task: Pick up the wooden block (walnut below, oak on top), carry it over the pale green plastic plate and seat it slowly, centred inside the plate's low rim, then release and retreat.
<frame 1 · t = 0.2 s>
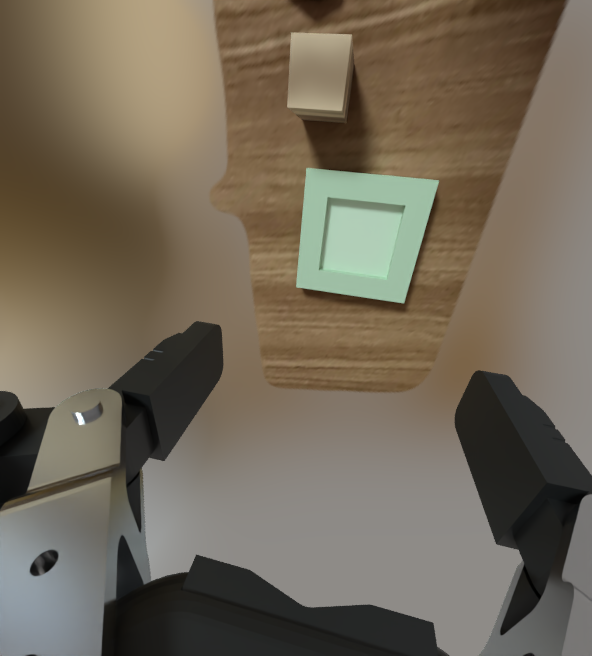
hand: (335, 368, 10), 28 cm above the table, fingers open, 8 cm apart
plate: (358, 236, 34), on the table
wooden block: (327, 93, 29), on the table
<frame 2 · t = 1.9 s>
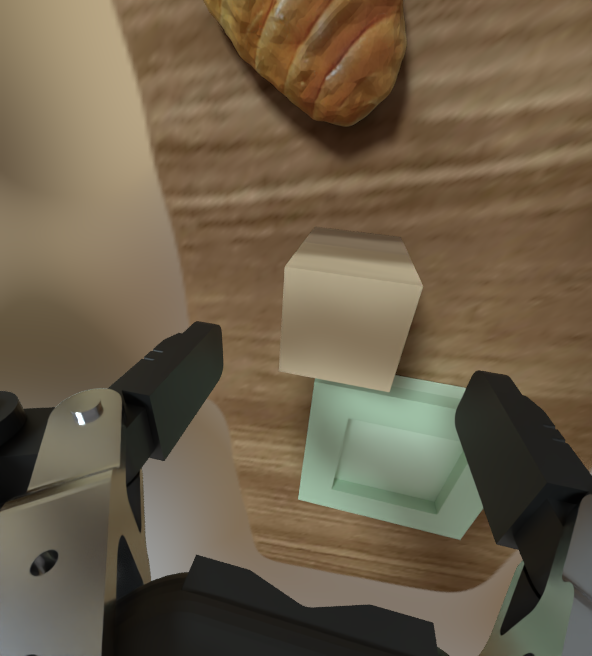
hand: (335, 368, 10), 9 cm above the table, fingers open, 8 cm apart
plate: (393, 444, 23), on the table
wooden block: (349, 272, 17), on the table
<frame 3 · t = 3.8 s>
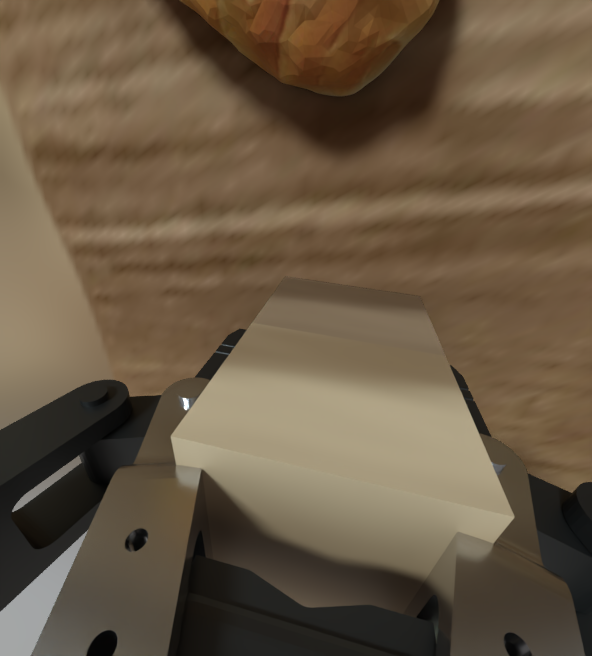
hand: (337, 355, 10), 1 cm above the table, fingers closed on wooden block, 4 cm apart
wooden block: (340, 342, 11), on the table, touching gripper
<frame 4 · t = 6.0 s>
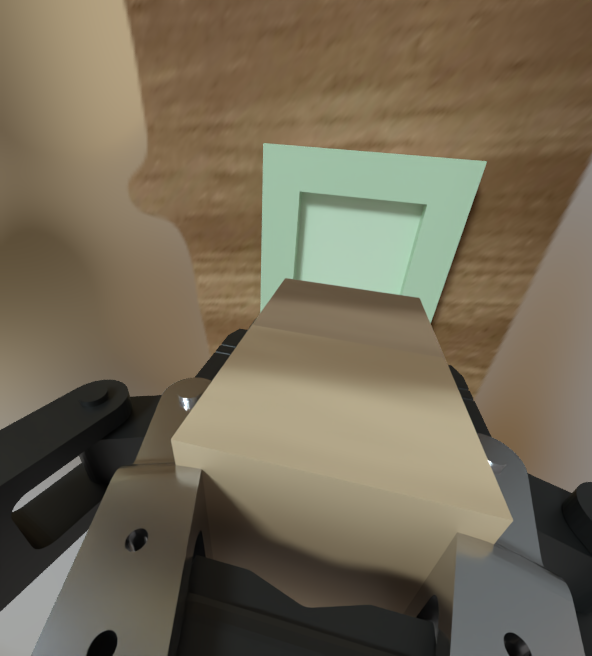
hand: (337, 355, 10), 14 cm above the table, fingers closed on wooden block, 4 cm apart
plate: (352, 251, 22), on the table
wooden block: (340, 343, 11), point 13 cm above the table, touching gripper
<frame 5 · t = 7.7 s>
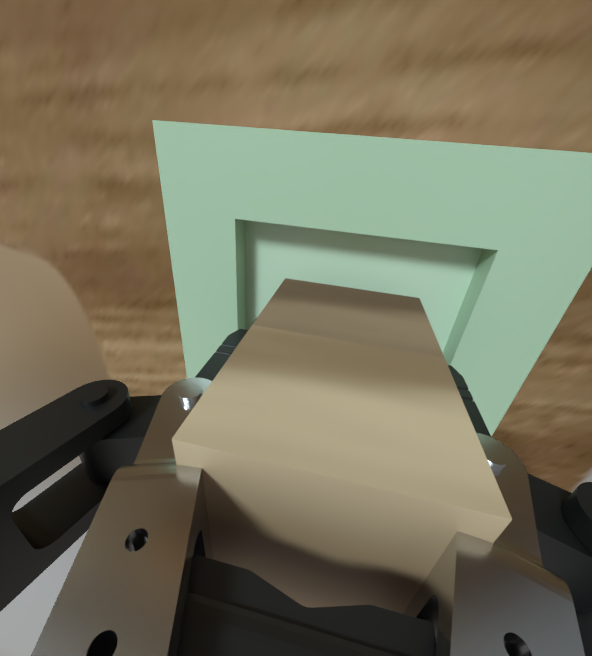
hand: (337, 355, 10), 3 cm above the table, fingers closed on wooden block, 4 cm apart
plate: (342, 317, 13), on the table
wooden block: (340, 343, 11), point 2 cm above the table, touching gripper
when the fingers open (3 cm above the table, at t = 8.7 s): wooden block stays where it is, resting on plate.
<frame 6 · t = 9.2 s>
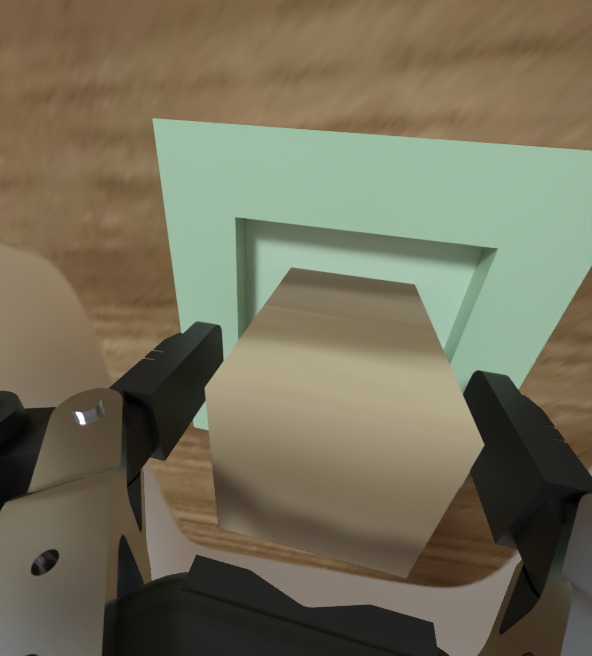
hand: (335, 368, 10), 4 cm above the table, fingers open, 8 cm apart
plate: (342, 316, 13), on the table
wooden block: (341, 328, 12), point 1 cm above the table, touching plate
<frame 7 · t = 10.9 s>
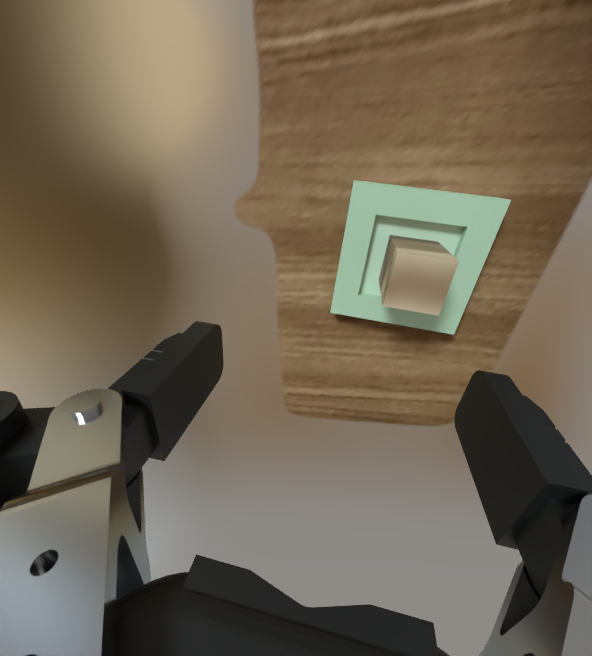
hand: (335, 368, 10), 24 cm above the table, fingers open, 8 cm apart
plate: (405, 258, 30), on the table
wooden block: (407, 261, 29), point 1 cm above the table, touching plate
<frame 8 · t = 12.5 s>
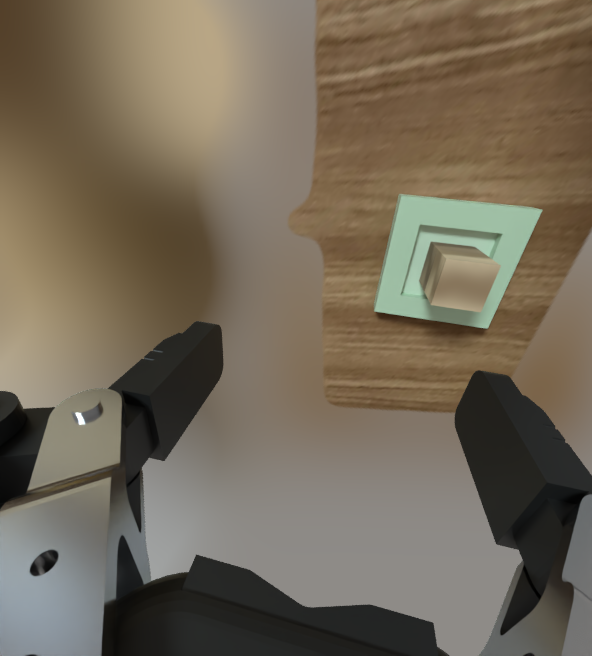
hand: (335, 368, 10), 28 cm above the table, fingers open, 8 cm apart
plate: (442, 261, 34), on the table
wooden block: (445, 264, 33), point 1 cm above the table, touching plate
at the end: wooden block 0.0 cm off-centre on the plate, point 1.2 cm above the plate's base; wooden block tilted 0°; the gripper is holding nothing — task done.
